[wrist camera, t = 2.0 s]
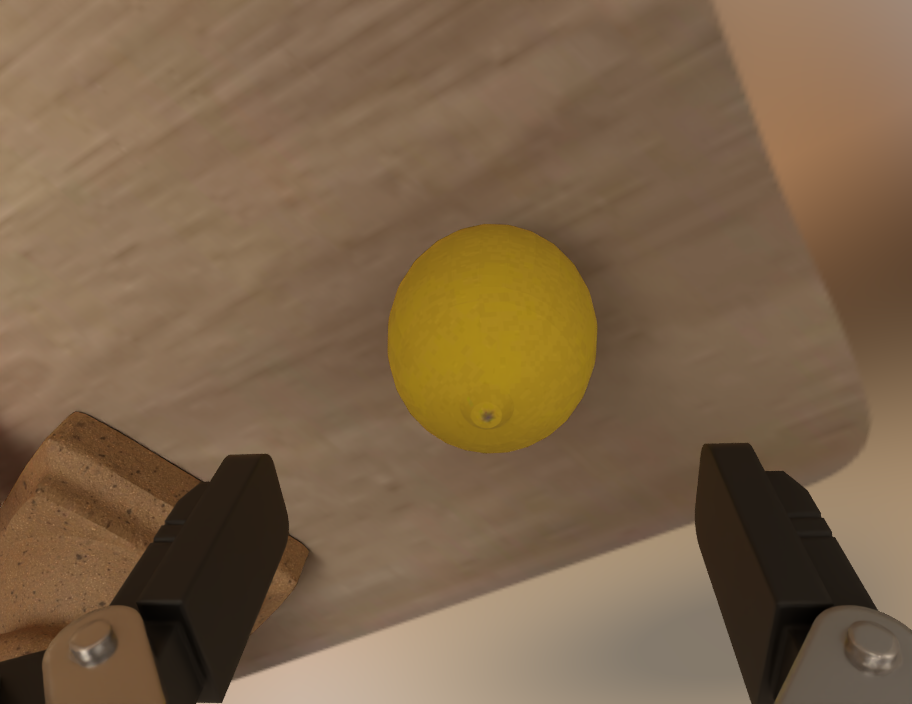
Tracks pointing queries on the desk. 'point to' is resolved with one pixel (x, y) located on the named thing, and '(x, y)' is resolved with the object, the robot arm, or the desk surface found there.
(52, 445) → the candle holder
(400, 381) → the lemon
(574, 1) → the desk surface
